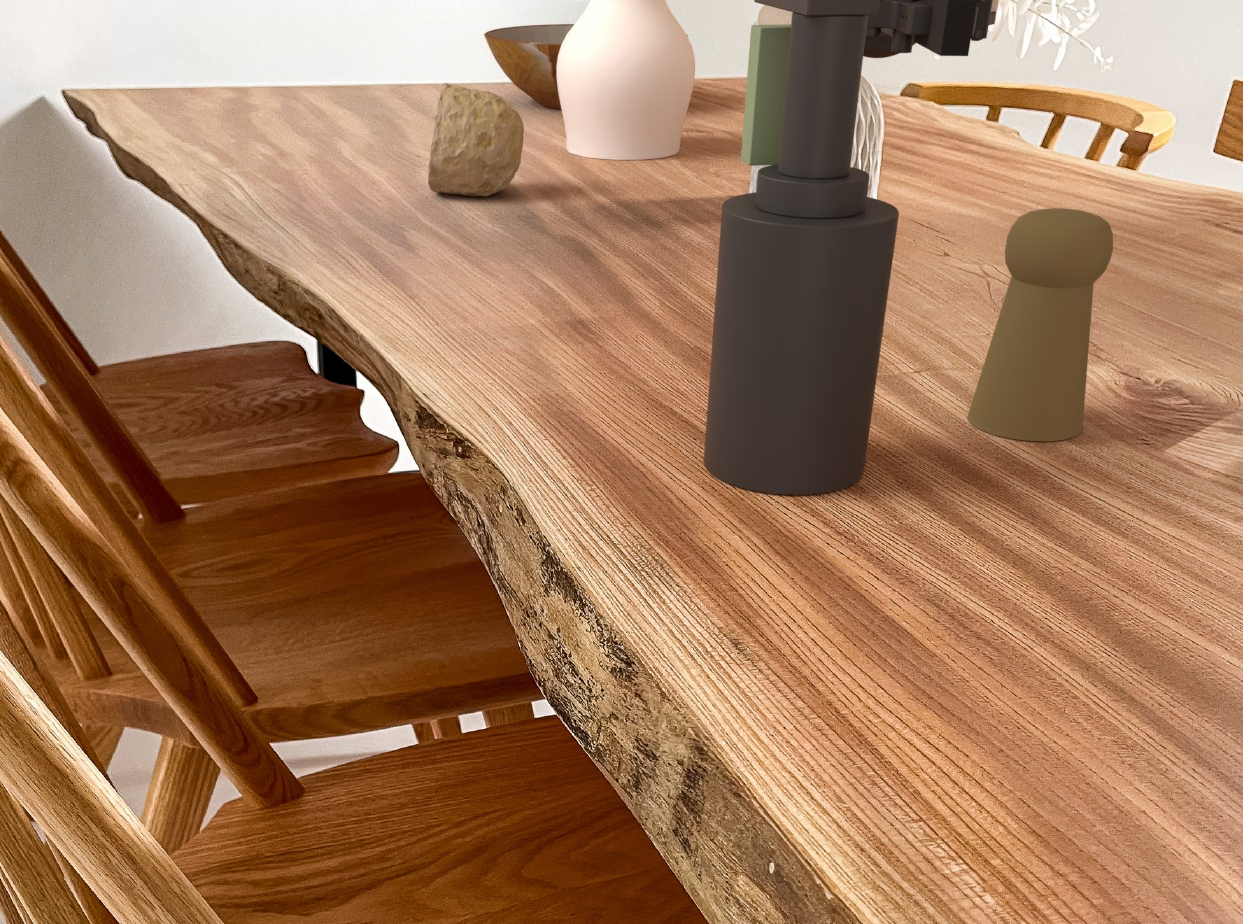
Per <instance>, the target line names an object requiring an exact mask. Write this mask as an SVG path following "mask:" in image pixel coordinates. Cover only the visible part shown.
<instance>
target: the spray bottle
mask: <svg viewBox="0 0 1243 924" xmlns="http://www.w3.org/2000/svg"><path fill="white" fill-rule="evenodd" d="M754 3H757V4H760V5H763V6H768V7H771V8H775V9H779V10H782V11H786V12H791V22H790V24H791V32H790V43H789V54H788V65H787V76H786V87H785V98H784V109H783V120H782V131H781V142H780V153H779V164H776V165H765V166H764V167H763V166H762V167H761V168H760V169H758V171H757V176H756V177H757V178H756V188H755V192H749V193H743V194H738V195H736V196H733V197H730V198H727V199H726V200H725V201H724V202H723V203H722V206H721V216H720V218H721V219H720V231H719V244H718V258H717V272H716V286H715V297H714V311H713V312H714V313H713V326H712V341H711V355H710V368H709V383H708V395H707V410H706V421H705V422H706V424H705V437H704V450H703V464H704V467H705V469H706V471H708V472H709V473H710V474H711V475H712V476H713V477H715V478H716V479H718V480H720V481H722V482H724V483H727V484H729V485H732V486H735V487H737V488H741V489H744V490H747V491H751V492H752V491H753V492H757V493H763V494H764V493H765V494H769V495H779V496H780V495H781V496H812V495H821V494H827V493H832V492H836V491H841V490H843V489H846V488H848V487H851V486H853V485H854V484H856V483H857V482H859V481H860V479H862V477H863V475H864V472H865V468H866V467H865V466H866V460H867V459H866V458H867V452H868V444H869V436H870V429H871V422H872V414H873V408H874V401H875V393H876V387H877V380H878V379H877V378H878V370H879V364H880V356H881V349H882V342H883V334H884V327H885V326H884V325H885V319H886V311H887V304H888V299H889V298H888V297H889V290H890V282H891V275H892V267H893V261H894V253H895V252H894V251H895V245H896V238H897V231H898V225H899V224H898V223H899V216H900V212H899V209H898V208H897V207H896V206H894V205H893V204H891V203H889V202H887V201H884V200H881V199H877V198H874V197H870V196H868V193H869V186H870V185H869V184H870V174H869V173H868V172H867V171H865V170H863V169H860V168H857V167H853V166H851V165H852V156H853V147H854V140H855V139H854V138H855V130H856V121H857V114H858V113H857V112H858V106H859V105H858V104H859V95H860V86H861V78H862V70H863V68H862V67H863V61H864V56H863V53H864V45H865V36H866V28H867V19H868V15H878V13H879V5H880V0H754Z"/></svg>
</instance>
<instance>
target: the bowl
mask: <svg viewBox="0 0 1243 924" xmlns="http://www.w3.org/2000/svg"><path fill="white" fill-rule="evenodd" d="M574 24H575V23H555V24H554V23H553V24H550V23H549V24H530V25H517V26H508V27H502V28H501V27H500V28H495V29H491V30H488V31H486V32H485V33H484V34H483V36H484V38H485V41H486V43H487V45H488V48H489V50H490V52H491V54H492V56H493V57H494V60H495V61H496V63H497V64H498V66H499V67H500V70H502V72H503V73H504V74H505V76H506V77H507V78H508V79H509V80H510V82H511V83H513V85H514V86H515V87H517V89H519V90H521V91H522V92H523V93H525V94H526V95H527V96H528V97H530V98H531V99H532V100H534V101H535V102H537V103H538V104H540V105H541V106H542V107H545V108H549V109H550V108H551V109H555V110H562V109H561V104H560V99H559V93H558V87H557V60H558V54H559V51H560V48H561V45H562V43H563V41H564V39H565V37H566V35H567V34H568V32H569V31H570V30H571V28H572V27H573V26H574ZM686 35H687V36H688V37H689V35H688V34H686Z"/></svg>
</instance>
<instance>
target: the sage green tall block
mask: <svg viewBox="0 0 1243 924" xmlns="http://www.w3.org/2000/svg"><path fill="white" fill-rule="evenodd" d="M790 32H791V23H790V24H789V23H788V24H786V23H785V24H751V26H750V37H749V47H748V48H749V49H748V61H747V63H748V64H747V76H746V89H745V100H744V114H743V127H742V140H741V153H740V162H742V163H745V164H746V165H748V166H750V167H752V166H756V167H757V166H770V165H776V164H779V153H780V142H781V131H782V120H783V109H784V98H785V87H786V76H787V65H788V54H789V43H790Z"/></svg>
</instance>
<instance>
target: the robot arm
mask: <svg viewBox="0 0 1243 924" xmlns="http://www.w3.org/2000/svg"><path fill="white" fill-rule="evenodd" d="M999 1H1000V0H880V5H879V13H878V15H868V19H867V28H866V36H865V45H864V53H863V58H870V59H884V58H886V59H887V58H891V57H895V56H897V55H899V54H910V53H912V51H913V46H914V45H916V44H917V45H919V46H920V47H923V48H925V49H927V50H929V51H930V52H932V53H934V54H936V55H937V56H940V57H968V56H969V53H970V47H971V42H980V41H983V40H985V39H987V37H988V31H989V26H993V25H995V24H996V19H997V18H996V17H997V11H998V4H999Z"/></svg>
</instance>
